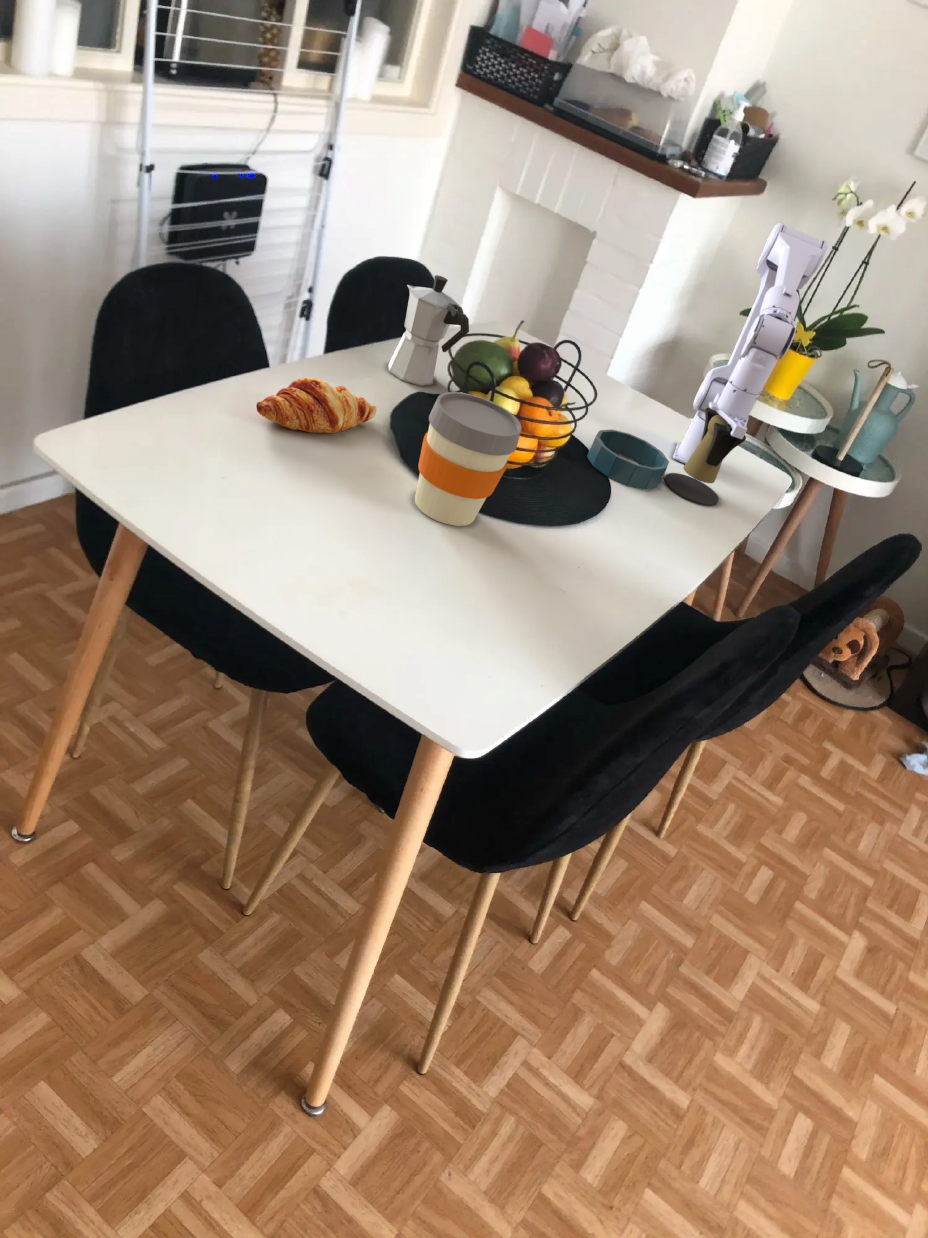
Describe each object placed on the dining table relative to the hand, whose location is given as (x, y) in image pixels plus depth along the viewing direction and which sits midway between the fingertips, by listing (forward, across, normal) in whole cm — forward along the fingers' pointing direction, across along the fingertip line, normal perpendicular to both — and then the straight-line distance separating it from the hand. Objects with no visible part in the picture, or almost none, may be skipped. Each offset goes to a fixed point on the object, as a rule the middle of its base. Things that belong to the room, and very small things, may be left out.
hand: (707, 457), depth 176 cm
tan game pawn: (+4, 0, 0) cm, 4 cm away
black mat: (+7, 0, 0) cm, 7 cm away
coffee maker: (+7, -12, -52) cm, 54 cm away
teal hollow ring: (+7, 0, -13) cm, 15 cm away
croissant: (+7, +20, -66) cm, 69 cm away
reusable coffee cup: (+7, +34, -46) cm, 58 cm away
